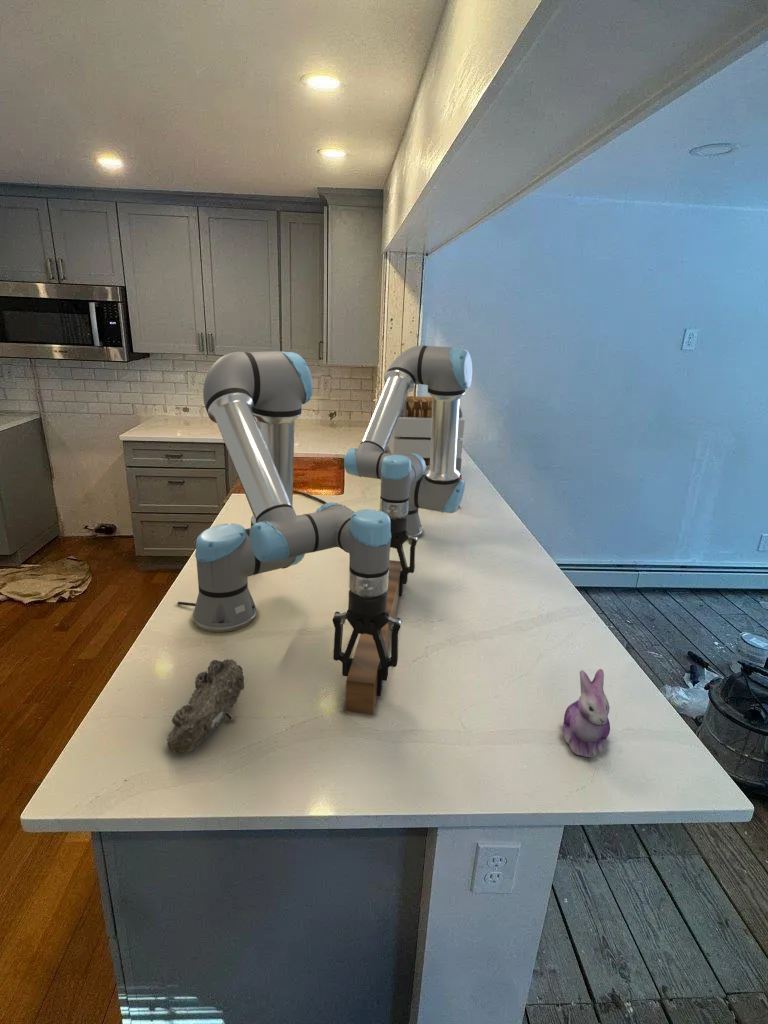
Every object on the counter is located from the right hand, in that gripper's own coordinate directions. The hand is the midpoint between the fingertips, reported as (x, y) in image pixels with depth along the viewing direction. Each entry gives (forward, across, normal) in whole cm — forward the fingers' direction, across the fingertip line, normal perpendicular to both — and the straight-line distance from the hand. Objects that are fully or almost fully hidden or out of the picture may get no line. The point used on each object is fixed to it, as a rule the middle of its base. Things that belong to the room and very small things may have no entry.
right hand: (389, 592), depth 157 cm
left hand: (0, 0, -43) cm, 43 cm away
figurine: (+1, +43, -50) cm, 66 cm away
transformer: (+1, 0, +126) cm, 126 cm away
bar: (+1, 0, -22) cm, 22 cm away
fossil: (+1, -27, -56) cm, 62 cm away
